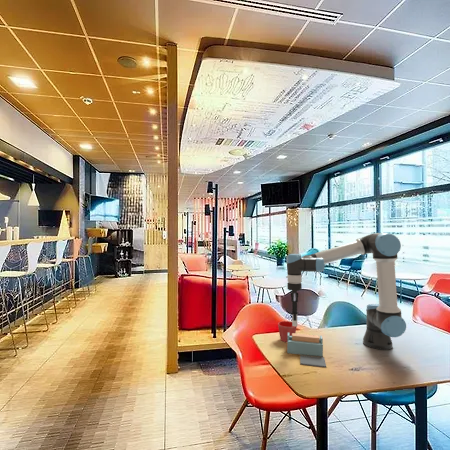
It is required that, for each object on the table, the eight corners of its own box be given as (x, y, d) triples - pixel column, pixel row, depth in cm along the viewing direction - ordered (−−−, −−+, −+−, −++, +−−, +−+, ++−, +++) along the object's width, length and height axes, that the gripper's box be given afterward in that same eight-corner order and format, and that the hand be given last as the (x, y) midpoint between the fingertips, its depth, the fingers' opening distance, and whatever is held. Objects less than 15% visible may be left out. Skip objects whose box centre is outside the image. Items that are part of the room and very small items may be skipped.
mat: (324, 358, 151) (324, 357, 151) (326, 367, 141) (326, 366, 141) (299, 356, 153) (300, 354, 153) (300, 364, 144) (300, 363, 144)
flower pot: (291, 345, 168) (292, 328, 168) (274, 340, 175) (274, 324, 175) (299, 339, 176) (299, 323, 177) (282, 335, 183) (282, 319, 183)
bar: (318, 343, 160) (318, 335, 160) (319, 345, 156) (319, 338, 156) (292, 340, 163) (292, 333, 163) (292, 343, 159) (292, 335, 159)
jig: (321, 350, 162) (321, 334, 162) (322, 356, 153) (322, 340, 153) (287, 346, 166) (287, 331, 166) (287, 353, 157) (287, 336, 157)
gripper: (287, 280, 168) (288, 321, 168) (287, 284, 156) (287, 329, 155) (301, 280, 167) (301, 322, 166) (301, 284, 154) (302, 330, 154)
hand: (294, 325), depth 161 cm, fingers closed
